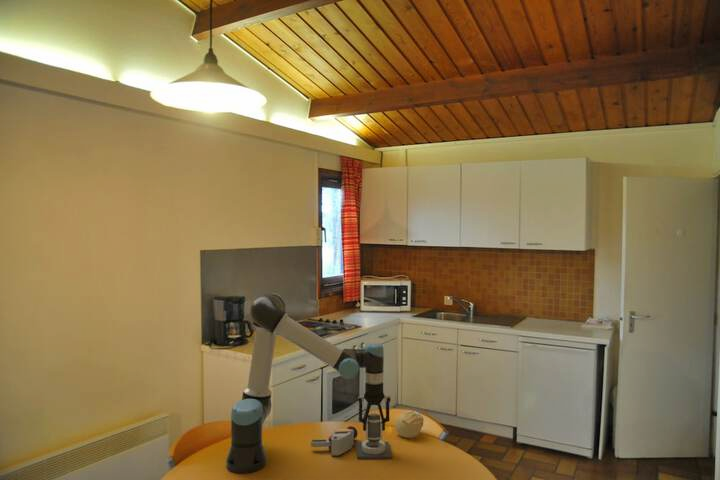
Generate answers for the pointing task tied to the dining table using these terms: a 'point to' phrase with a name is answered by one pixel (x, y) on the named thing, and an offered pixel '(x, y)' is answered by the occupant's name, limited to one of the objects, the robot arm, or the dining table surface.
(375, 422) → the lens
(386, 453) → the mount
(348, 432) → the film camera
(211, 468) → the dining table surface
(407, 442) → the dining table surface
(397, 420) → the cream crumpled ball
